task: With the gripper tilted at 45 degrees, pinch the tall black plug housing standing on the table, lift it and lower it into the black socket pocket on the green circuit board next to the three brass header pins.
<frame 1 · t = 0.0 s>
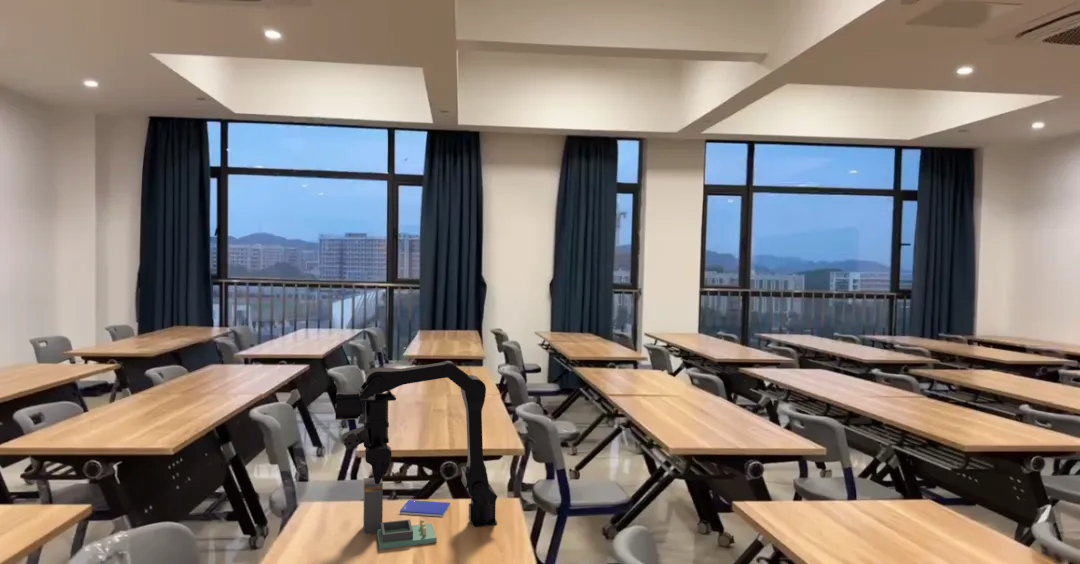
hand: (376, 477, 165), 15 cm above the table, tool pointing down, fingers open, 9 cm apart
header board: (406, 537, 163), on the table
hard drive: (425, 512, 181), on the table
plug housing: (372, 529, 167), on the table
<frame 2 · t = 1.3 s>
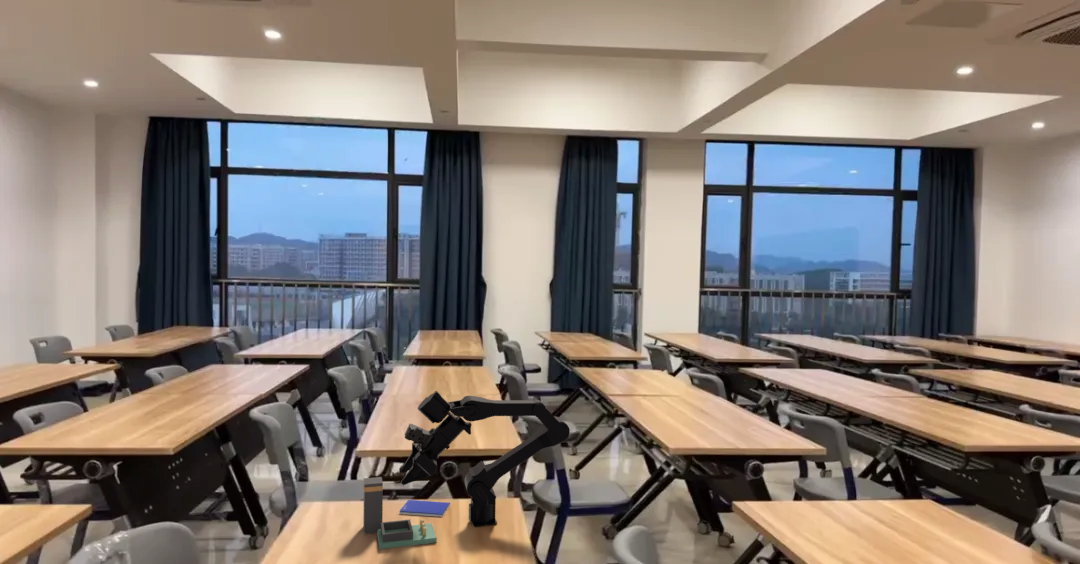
hand: (402, 477, 168), 13 cm above the table, tool tilted 45°, fingers open, 9 cm apart
nothing on the table moved.
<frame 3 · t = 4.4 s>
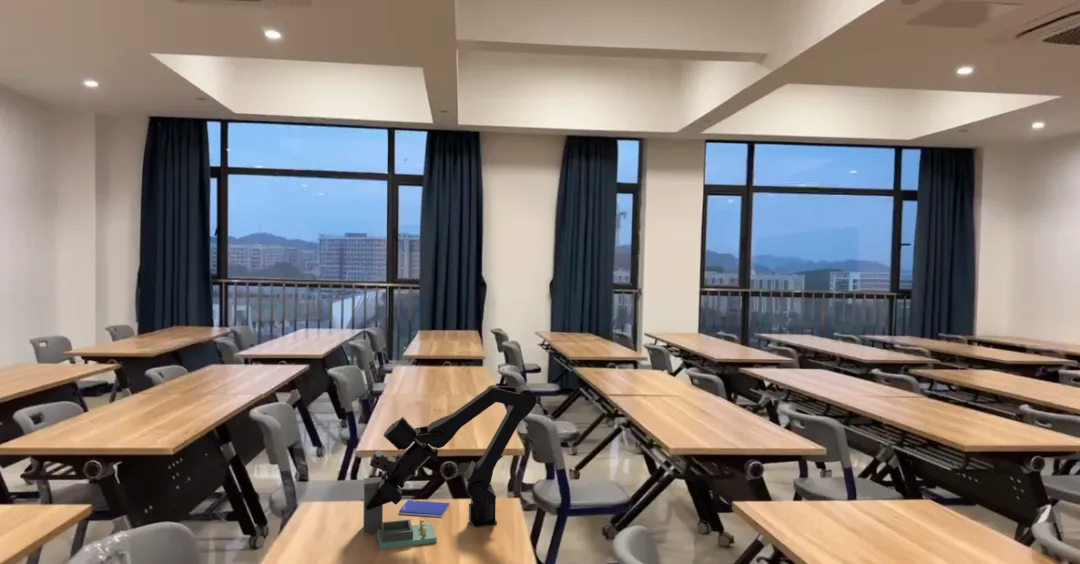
hand: (367, 504, 167), 7 cm above the table, tool tilted 45°, fingers closed on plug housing, 5 cm apart
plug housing: (372, 529, 167), on the table, touching gripper
everything else where it was.
when the fingers open (9 cm above the table, at t = 8.6 s): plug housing drops 1 cm, resting on header board.
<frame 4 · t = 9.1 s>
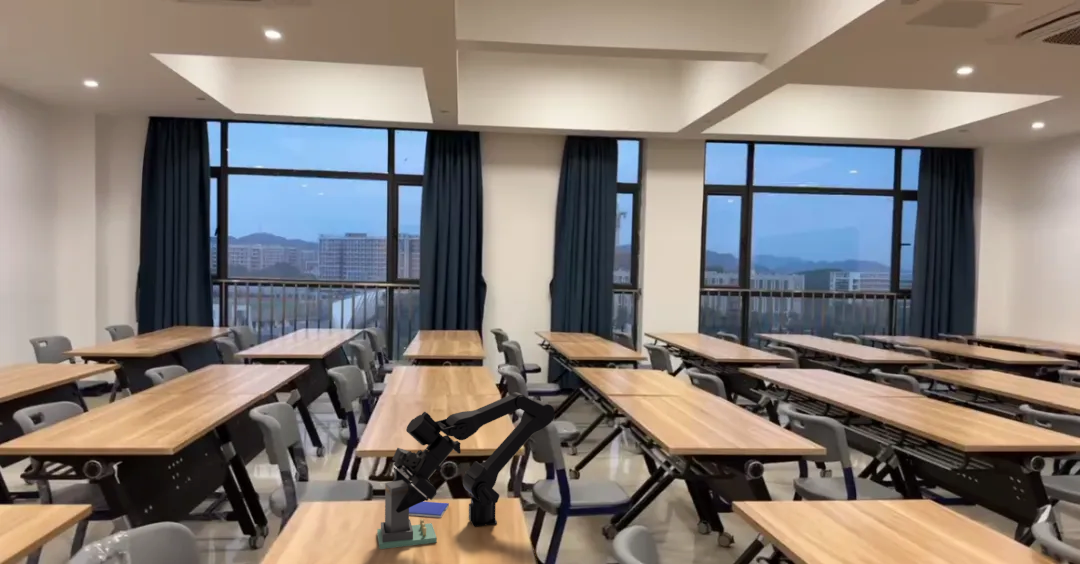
hand: (391, 505, 161), 9 cm above the table, tool tilted 45°, fingers open, 9 cm apart
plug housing: (396, 534, 162), point 1 cm above the table, touching header board
everything else where it was.
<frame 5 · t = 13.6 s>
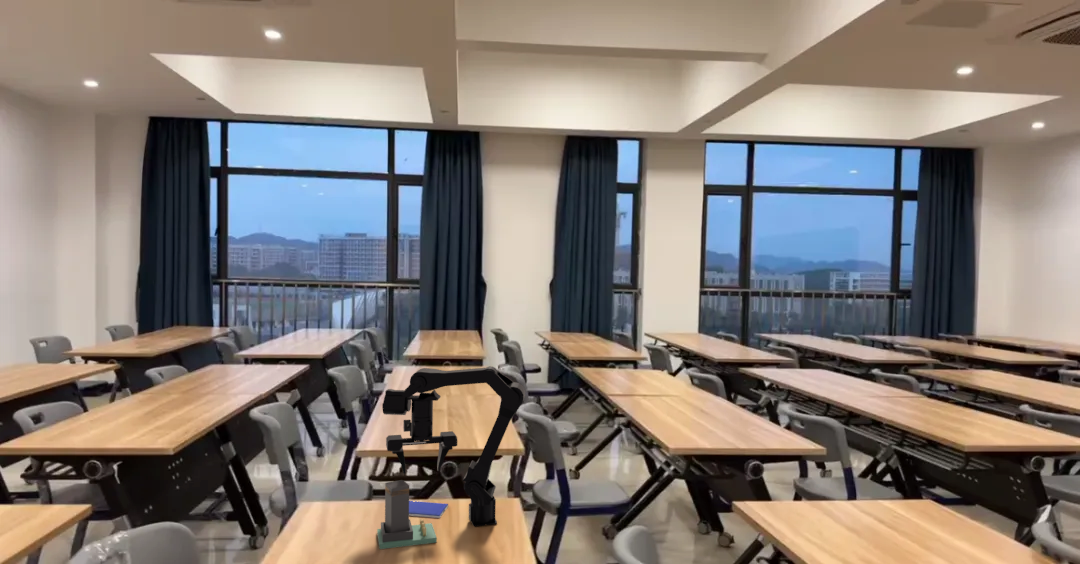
hand: (421, 471, 174), 13 cm above the table, tool pointing down, fingers open, 9 cm apart
nothing on the table moved.
at the end: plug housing 0.0 cm from the target spot on the header board, point 1.2 cm above the header board's base; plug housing tilted 0°; the gripper is holding nothing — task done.
